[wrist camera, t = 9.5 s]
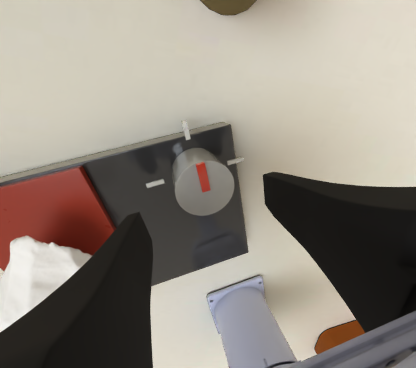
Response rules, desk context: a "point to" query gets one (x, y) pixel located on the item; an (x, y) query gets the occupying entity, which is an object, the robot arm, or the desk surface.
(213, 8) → the olive pawn
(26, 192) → the plate
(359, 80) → the desk surface
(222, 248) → the hob
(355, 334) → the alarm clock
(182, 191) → the hob knob
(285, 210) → the robot arm
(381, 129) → the desk surface
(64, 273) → the white bottle
